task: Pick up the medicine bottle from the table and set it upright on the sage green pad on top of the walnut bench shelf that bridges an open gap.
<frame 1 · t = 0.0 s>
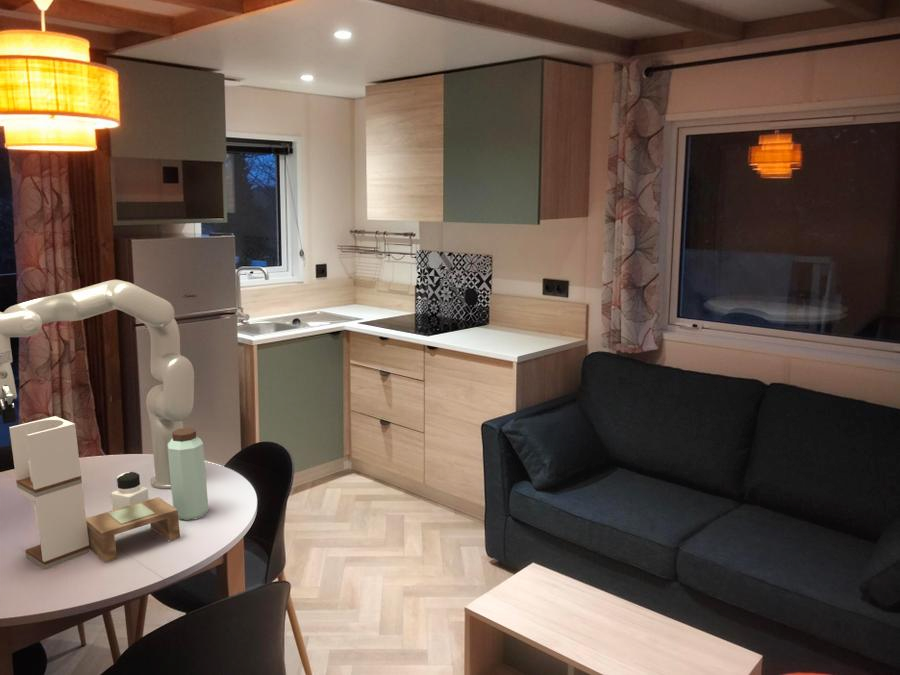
hand: (4, 418, 218), 31 cm above the table, tool pointing down, fingers open, 9 cm apart
water bottle: (191, 514, 230), on the table
medicine bottle: (131, 514, 231), on the table
bench shelf: (134, 542, 213), on the table
white tower: (58, 555, 206), on the table
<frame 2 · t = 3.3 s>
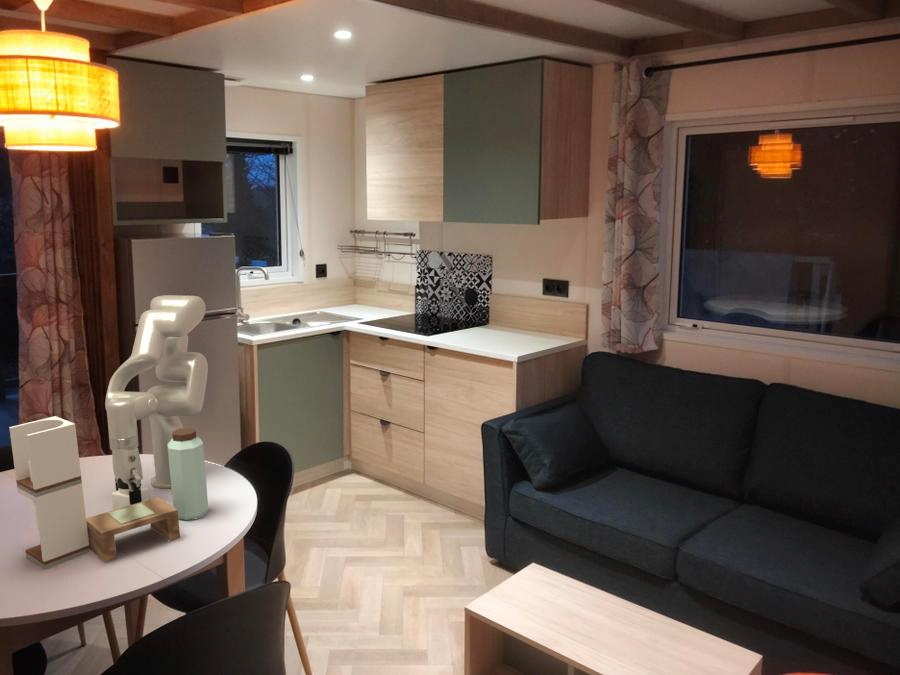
hand: (128, 498, 229), 5 cm above the table, tool pointing down, fingers open, 9 cm apart
medicine bottle: (132, 514, 231), on the table, touching gripper
everything else where it was.
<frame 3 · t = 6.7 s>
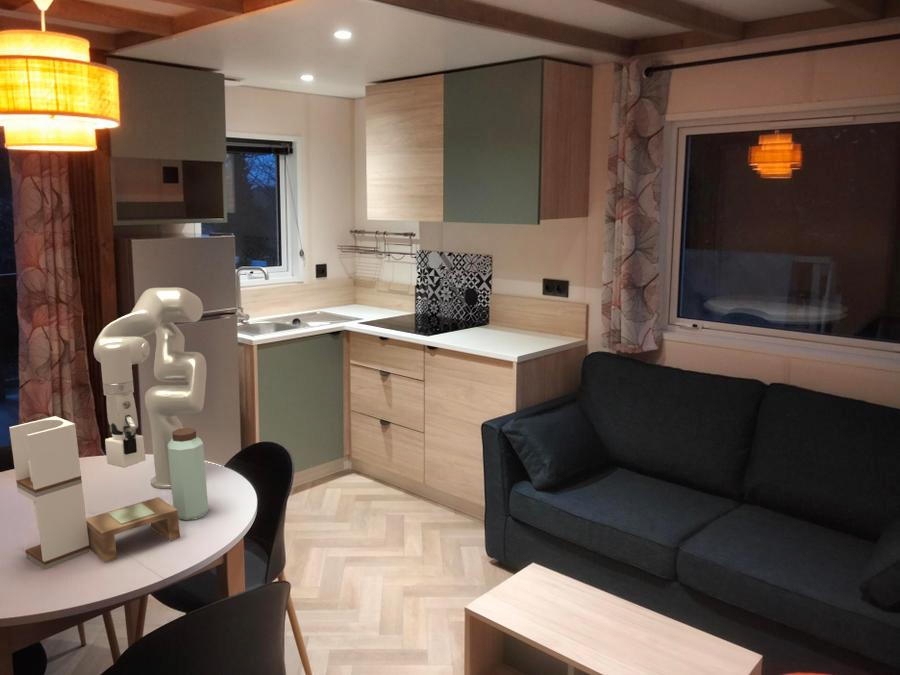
hand: (124, 449, 218), 23 cm above the table, tool pointing down, fingers closed on medicine bottle, 8 cm apart
medicine bottle: (126, 463, 219), point 19 cm above the table, touching gripper
everything else where it was.
when the fingers open (13 cm above the table, at t = 9.7 s): medicine bottle stays where it is, resting on bench shelf.
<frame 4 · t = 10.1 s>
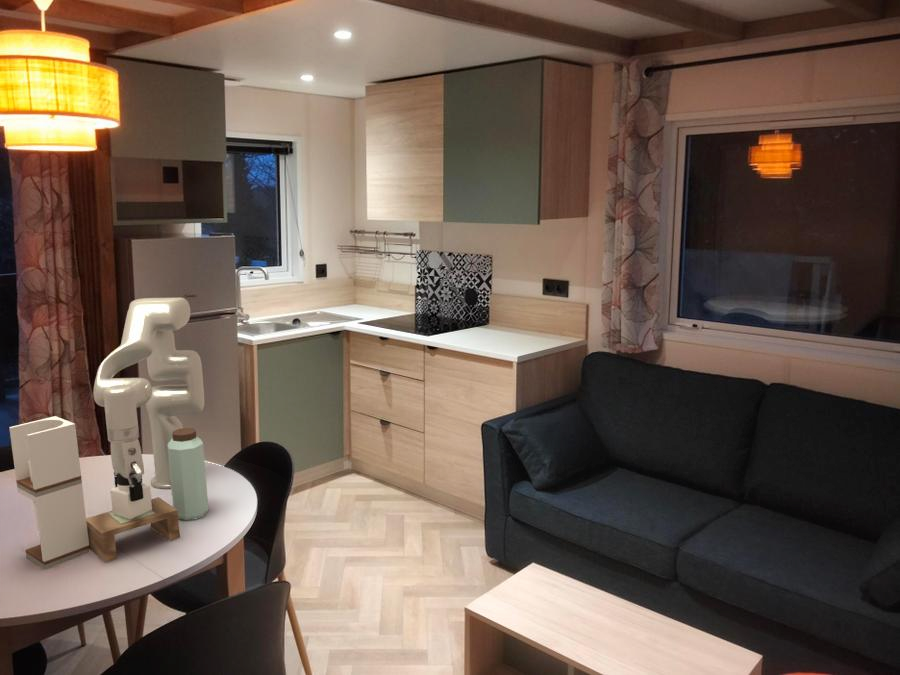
hand: (129, 494, 210), 13 cm above the table, tool pointing down, fingers open, 9 cm apart
medicine bottle: (132, 513, 212), point 8 cm above the table, touching bench shelf
everything else where it was.
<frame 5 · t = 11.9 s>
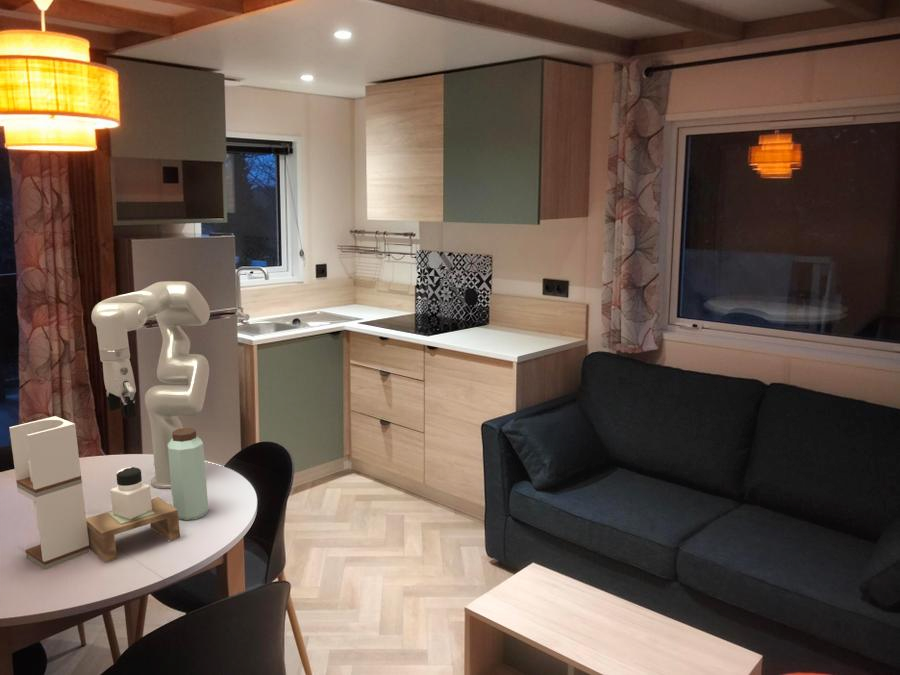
hand: (122, 413, 221), 31 cm above the table, tool pointing down, fingers open, 9 cm apart
nothing on the table moved.
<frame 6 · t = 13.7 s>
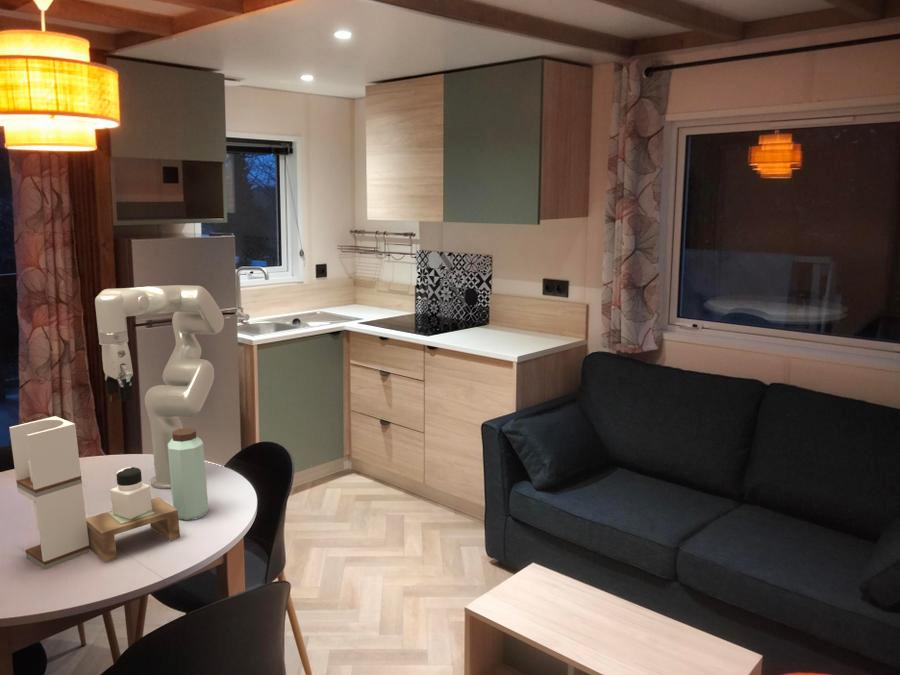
hand: (119, 396, 227), 34 cm above the table, tool pointing down, fingers open, 9 cm apart
nothing on the table moved.
at the end: medicine bottle inside the target area on the bench shelf (0.4 cm from its centre), point 8.1 cm above the bench shelf's base; medicine bottle tilted 0°; the gripper is holding nothing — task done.
